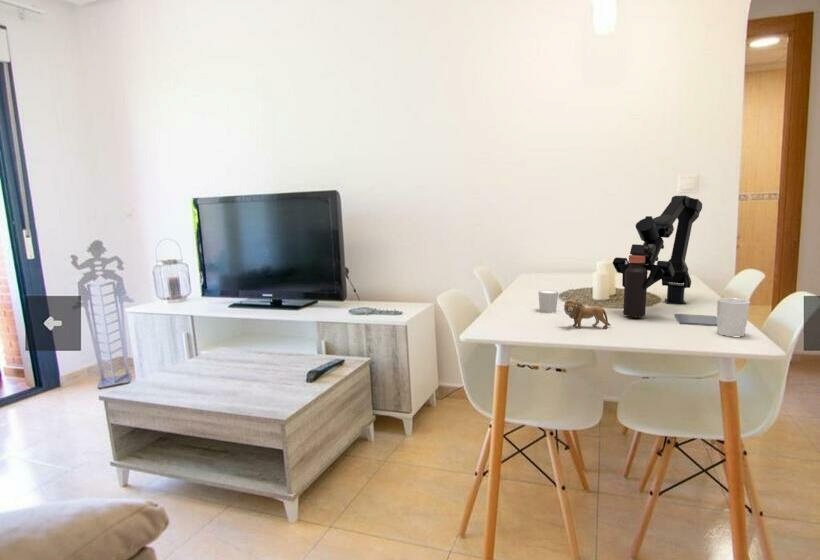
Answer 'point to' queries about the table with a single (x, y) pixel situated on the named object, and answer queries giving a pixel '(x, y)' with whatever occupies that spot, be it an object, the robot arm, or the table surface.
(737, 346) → the table surface
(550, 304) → the ribbed white pot
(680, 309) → the table surface
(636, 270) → the vinegar
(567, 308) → the lion figurine
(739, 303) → the white cup
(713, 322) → the slate coaster
